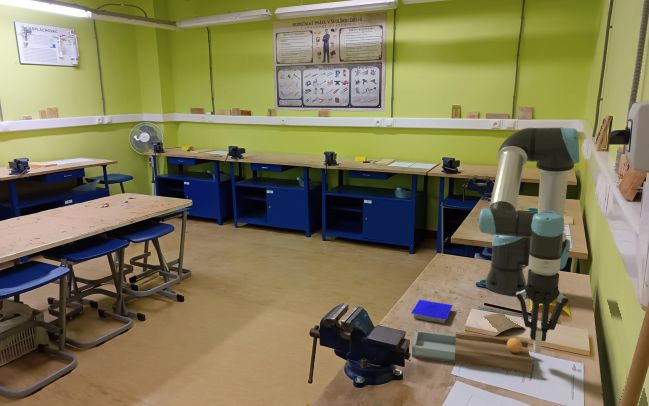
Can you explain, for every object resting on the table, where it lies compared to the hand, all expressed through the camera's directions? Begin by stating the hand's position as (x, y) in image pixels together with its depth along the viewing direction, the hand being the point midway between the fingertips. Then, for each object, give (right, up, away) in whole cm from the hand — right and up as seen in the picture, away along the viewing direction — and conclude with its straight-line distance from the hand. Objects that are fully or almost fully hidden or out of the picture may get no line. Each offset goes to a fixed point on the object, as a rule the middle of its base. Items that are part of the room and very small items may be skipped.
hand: (536, 350), depth 123 cm
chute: (-11, -4, +4) cm, 13 cm away
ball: (-6, +1, +2) cm, 6 cm away
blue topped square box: (-21, +1, +32) cm, 39 cm away
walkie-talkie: (+23, +13, +83) cm, 87 cm away
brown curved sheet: (-1, 0, +23) cm, 23 cm away
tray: (-26, -3, +9) cm, 28 cm away
